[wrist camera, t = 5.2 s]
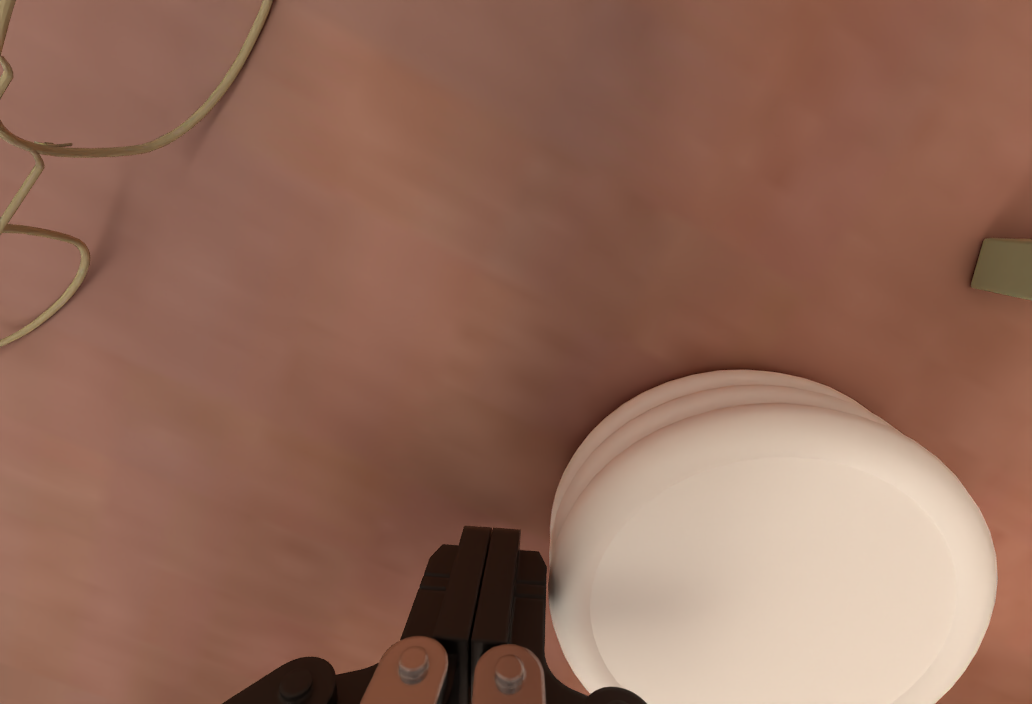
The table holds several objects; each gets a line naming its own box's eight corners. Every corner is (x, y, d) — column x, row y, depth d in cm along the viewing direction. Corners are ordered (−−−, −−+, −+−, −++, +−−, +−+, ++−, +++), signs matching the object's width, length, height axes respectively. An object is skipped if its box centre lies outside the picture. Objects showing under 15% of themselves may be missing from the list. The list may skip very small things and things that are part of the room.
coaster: (962, 392, 13) (1102, 459, 10) (838, 679, 16) (913, 807, 12) (579, 337, 13) (586, 383, 10) (529, 626, 16) (522, 736, 13)
